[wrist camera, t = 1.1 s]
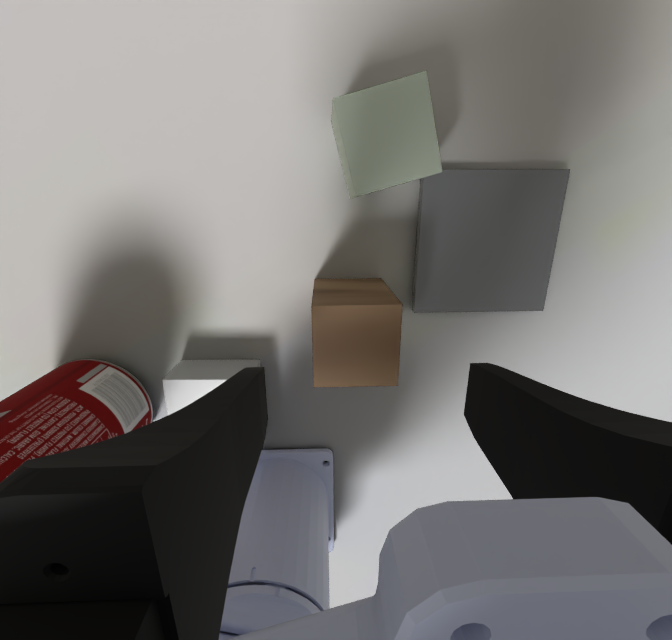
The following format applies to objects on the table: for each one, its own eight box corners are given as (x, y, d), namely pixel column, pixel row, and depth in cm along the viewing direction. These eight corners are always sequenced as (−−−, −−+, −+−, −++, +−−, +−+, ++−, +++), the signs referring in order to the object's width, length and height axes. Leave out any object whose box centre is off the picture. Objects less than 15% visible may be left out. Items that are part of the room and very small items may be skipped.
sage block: (418, 179, 19) (442, 172, 15) (349, 198, 19) (356, 196, 16) (404, 99, 18) (426, 70, 14) (331, 121, 18) (333, 98, 14)
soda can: (126, 340, 21) (-99, 490, 10) (175, 427, 23) (35, 634, 12) (30, 372, 22) (-291, 552, 10) (87, 455, 24) (-129, 679, 13)
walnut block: (378, 339, 22) (397, 385, 16) (316, 340, 22) (313, 387, 16) (380, 278, 21) (402, 304, 15) (314, 279, 21) (311, 305, 15)
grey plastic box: (265, 436, 24) (257, 466, 21) (193, 436, 24) (176, 466, 21) (260, 357, 22) (251, 379, 20) (183, 358, 22) (161, 379, 19)
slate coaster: (537, 308, 22) (543, 310, 21) (411, 309, 21) (414, 312, 21) (562, 170, 19) (570, 169, 19) (421, 170, 19) (424, 169, 18)
